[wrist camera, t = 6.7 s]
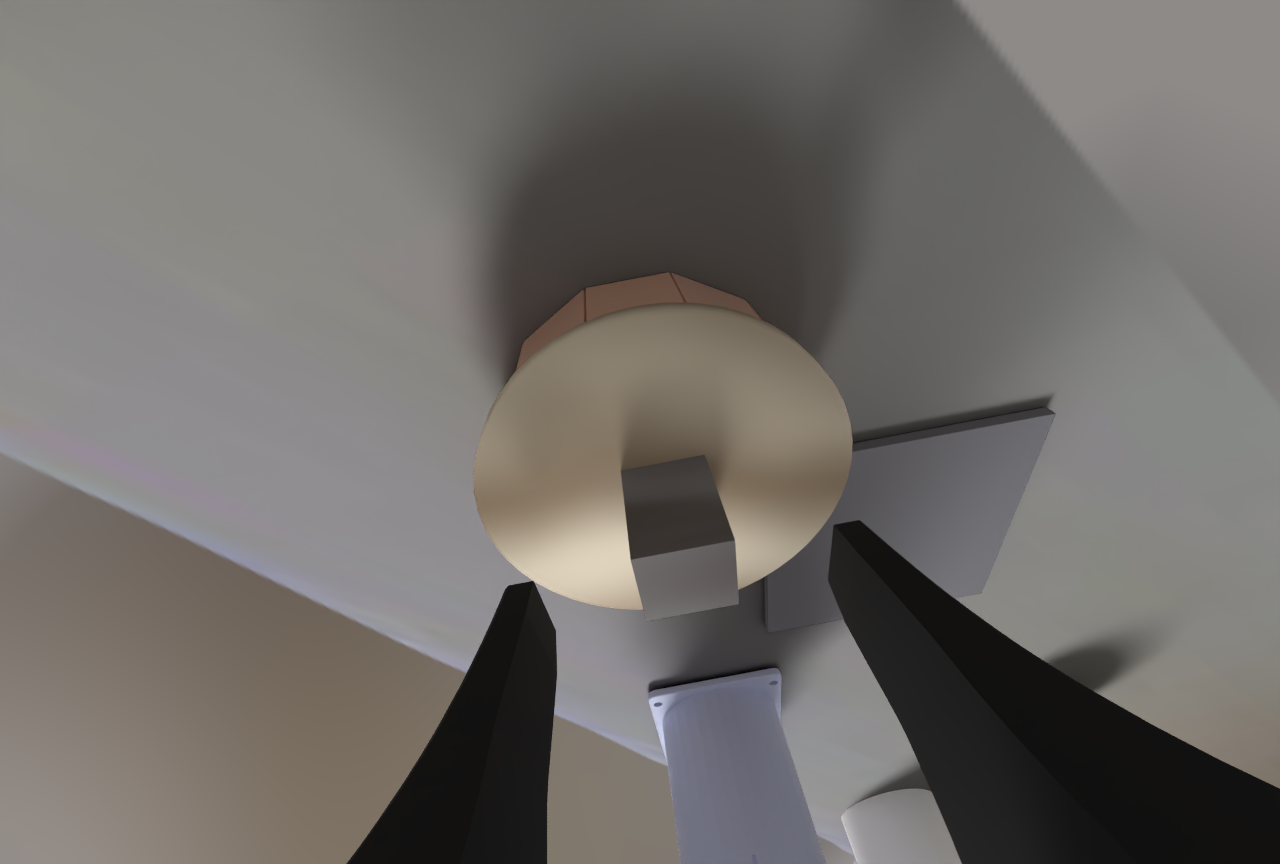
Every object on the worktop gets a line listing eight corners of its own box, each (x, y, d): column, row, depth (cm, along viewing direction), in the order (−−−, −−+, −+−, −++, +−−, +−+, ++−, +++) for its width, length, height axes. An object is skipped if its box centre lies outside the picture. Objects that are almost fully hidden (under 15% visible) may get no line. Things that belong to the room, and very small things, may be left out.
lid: (827, 559, 18) (882, 662, 15) (538, 614, 18) (528, 728, 15) (858, 263, 12) (968, 327, 8) (412, 348, 12) (347, 445, 8)
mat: (975, 585, 26) (981, 593, 26) (764, 624, 26) (767, 633, 26) (1045, 407, 19) (1056, 413, 19) (763, 460, 19) (767, 468, 19)
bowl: (782, 489, 20) (815, 552, 18) (552, 532, 21) (547, 602, 18) (786, 249, 15) (837, 285, 12) (467, 310, 15) (440, 360, 12)
